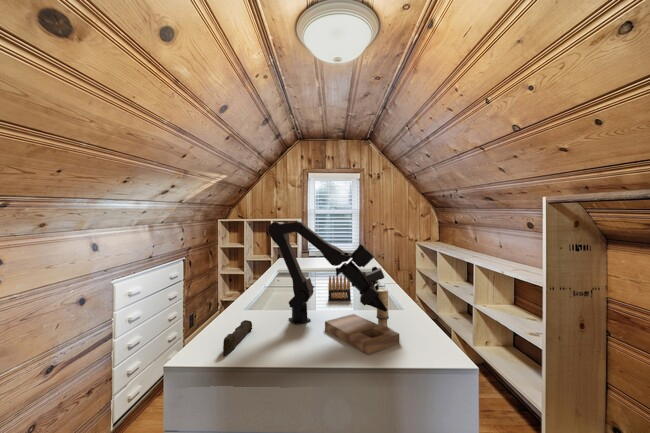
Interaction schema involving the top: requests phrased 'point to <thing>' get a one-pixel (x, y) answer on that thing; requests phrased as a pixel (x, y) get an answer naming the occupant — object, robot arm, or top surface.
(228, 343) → the hand tool
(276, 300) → the top surface
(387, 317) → the oak peg
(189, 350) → the top surface
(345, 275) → the robot arm
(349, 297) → the ammunition clip
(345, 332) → the walnut board
